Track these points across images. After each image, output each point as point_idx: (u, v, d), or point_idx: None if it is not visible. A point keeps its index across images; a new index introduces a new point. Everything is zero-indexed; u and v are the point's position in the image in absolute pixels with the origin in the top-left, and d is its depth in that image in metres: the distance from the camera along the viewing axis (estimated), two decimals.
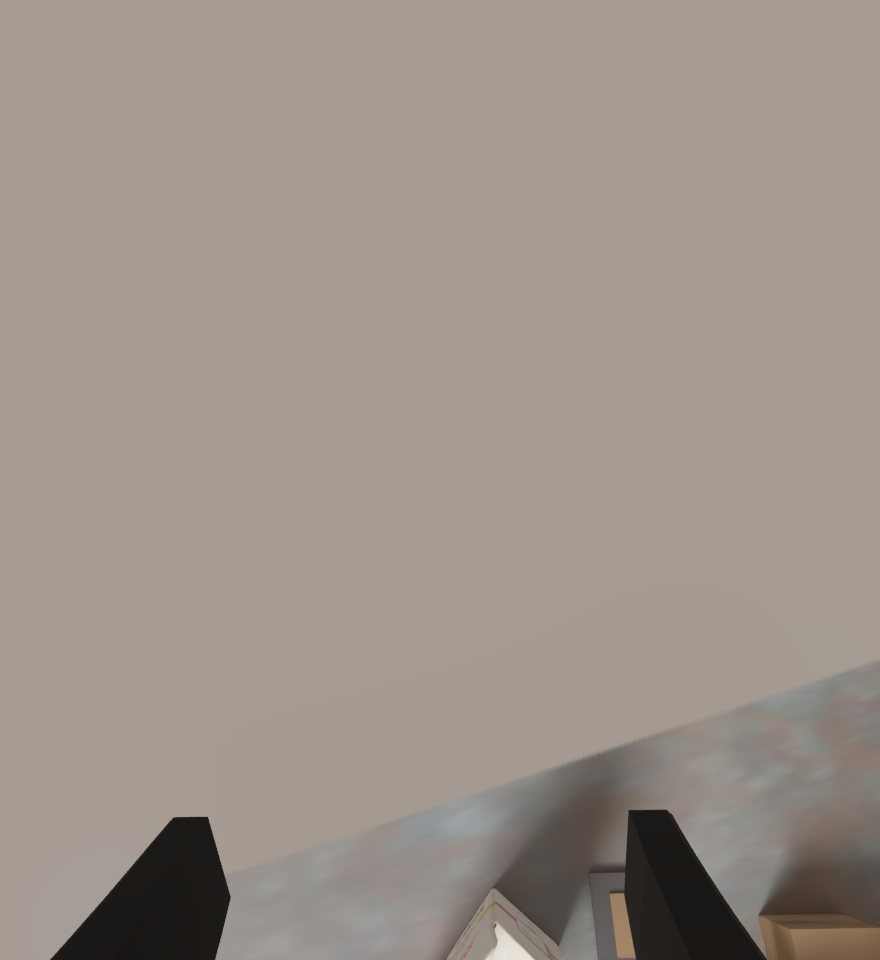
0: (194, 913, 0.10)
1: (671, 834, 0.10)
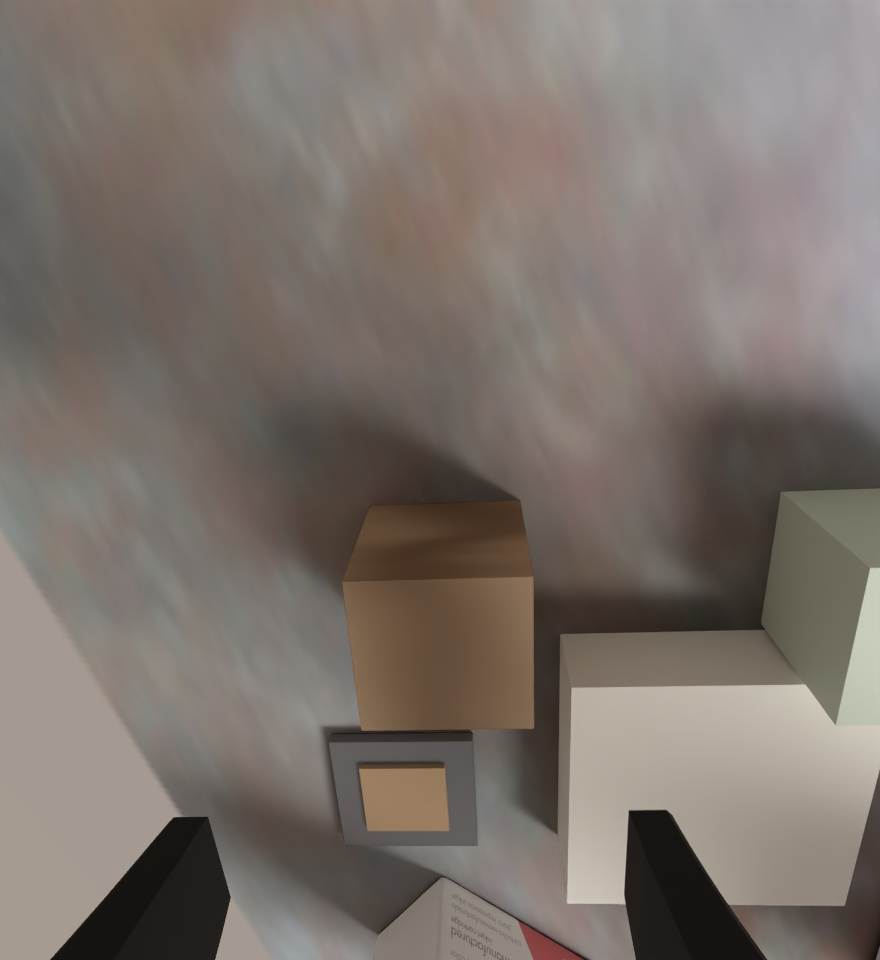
0: (194, 913, 0.10)
1: (671, 834, 0.10)
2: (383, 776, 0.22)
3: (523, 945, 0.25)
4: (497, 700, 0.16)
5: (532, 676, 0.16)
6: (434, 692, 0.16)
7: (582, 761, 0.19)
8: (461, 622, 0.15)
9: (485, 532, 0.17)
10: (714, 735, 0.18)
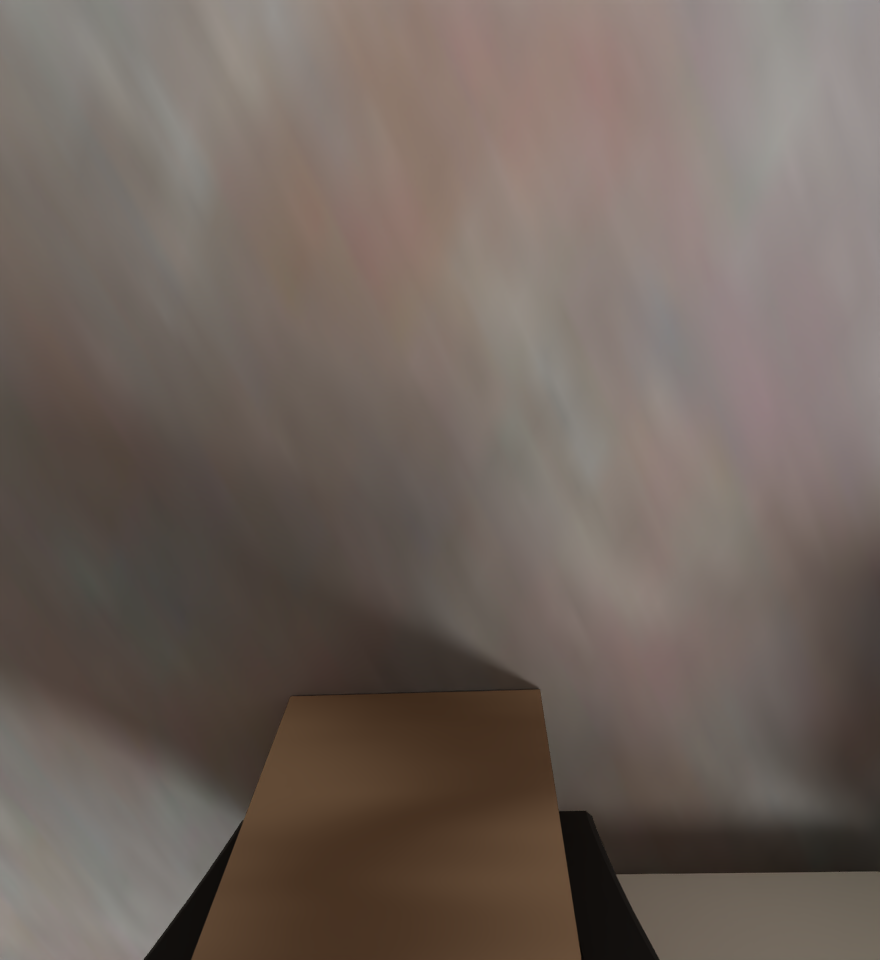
0: None
1: (585, 835, 0.10)
2: None
3: None
4: None
5: None
6: None
7: None
8: None
9: (482, 788, 0.09)
10: None
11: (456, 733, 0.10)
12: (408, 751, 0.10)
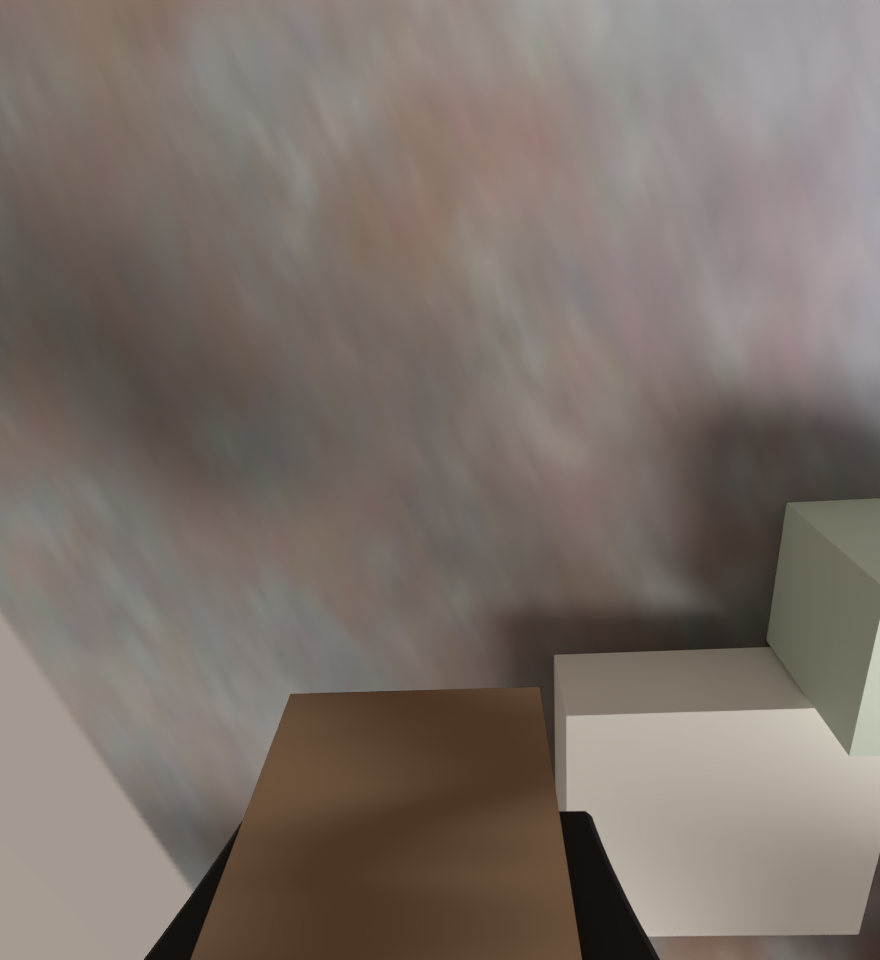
0: None
1: (586, 835, 0.10)
2: None
3: None
4: None
5: None
6: None
7: (579, 791, 0.18)
8: None
9: (482, 786, 0.09)
10: (718, 762, 0.17)
11: (456, 730, 0.10)
12: (408, 748, 0.10)
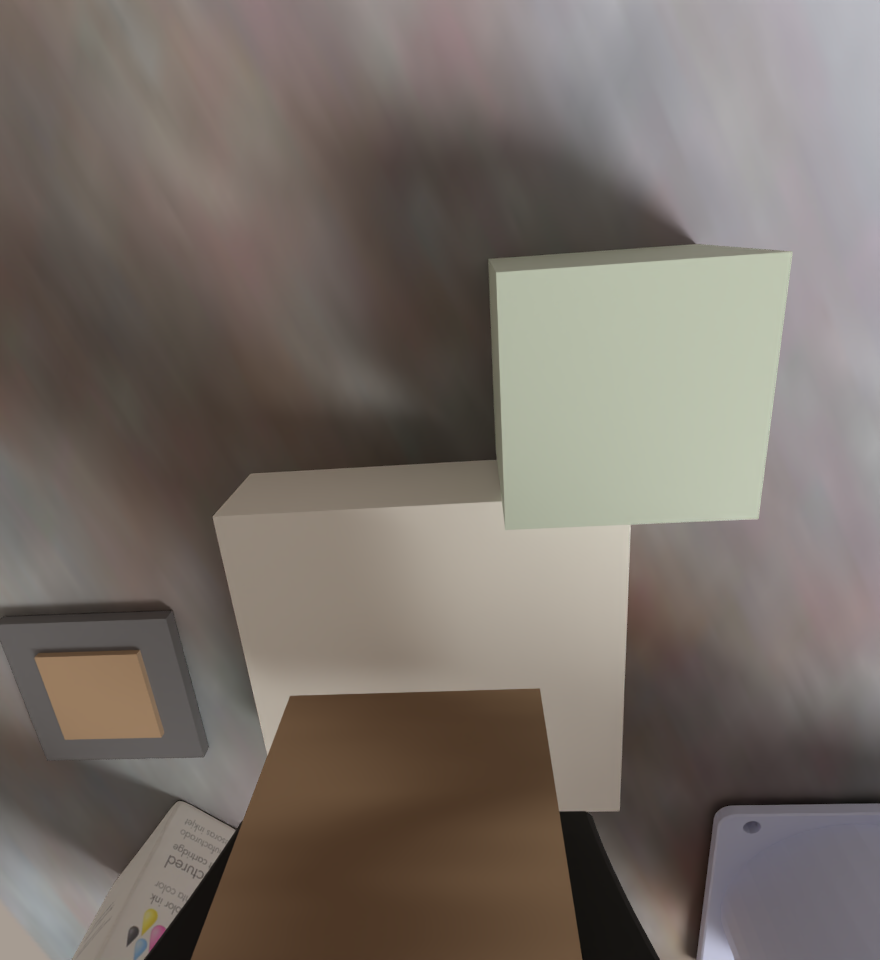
0: None
1: (585, 835, 0.10)
2: (66, 667, 0.18)
3: None
4: None
5: None
6: None
7: (252, 622, 0.15)
8: None
9: (482, 788, 0.09)
10: (408, 579, 0.14)
11: (456, 732, 0.10)
12: (408, 750, 0.10)
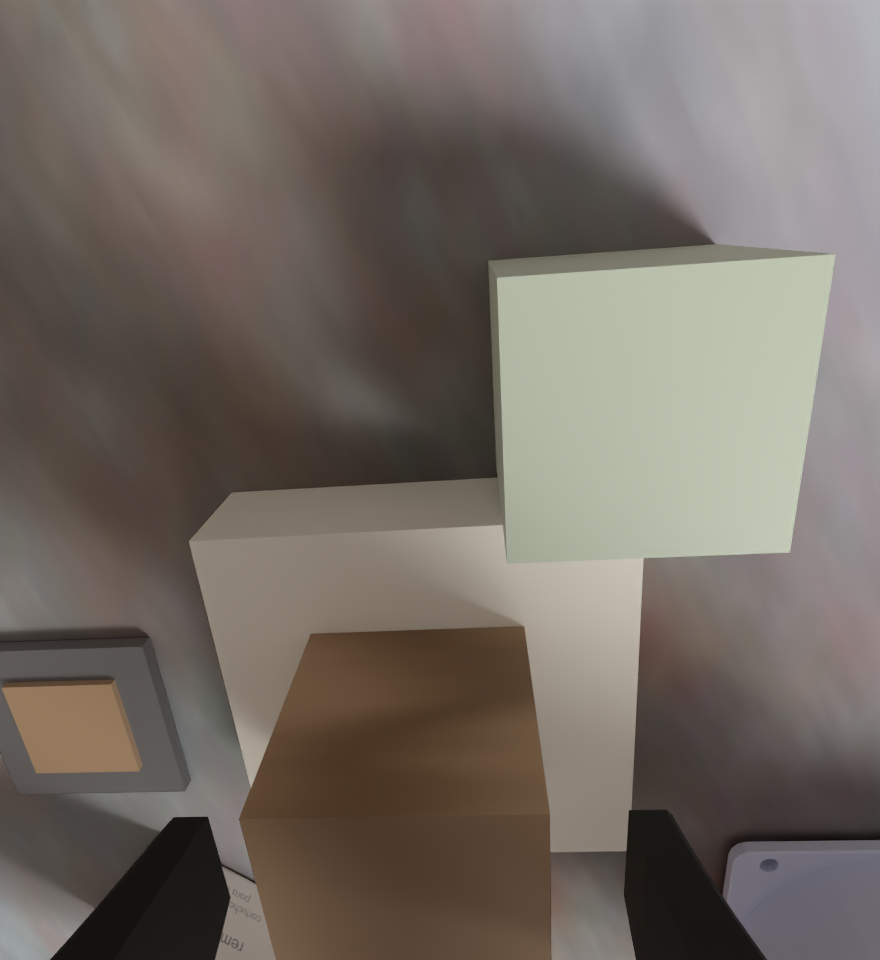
0: (194, 913, 0.10)
1: (671, 834, 0.10)
2: (36, 697, 0.17)
3: (263, 920, 0.19)
4: None
5: (549, 945, 0.10)
6: None
7: (233, 653, 0.14)
8: (435, 875, 0.09)
9: (473, 699, 0.11)
10: (402, 607, 0.13)
11: (452, 659, 0.12)
12: (412, 672, 0.12)
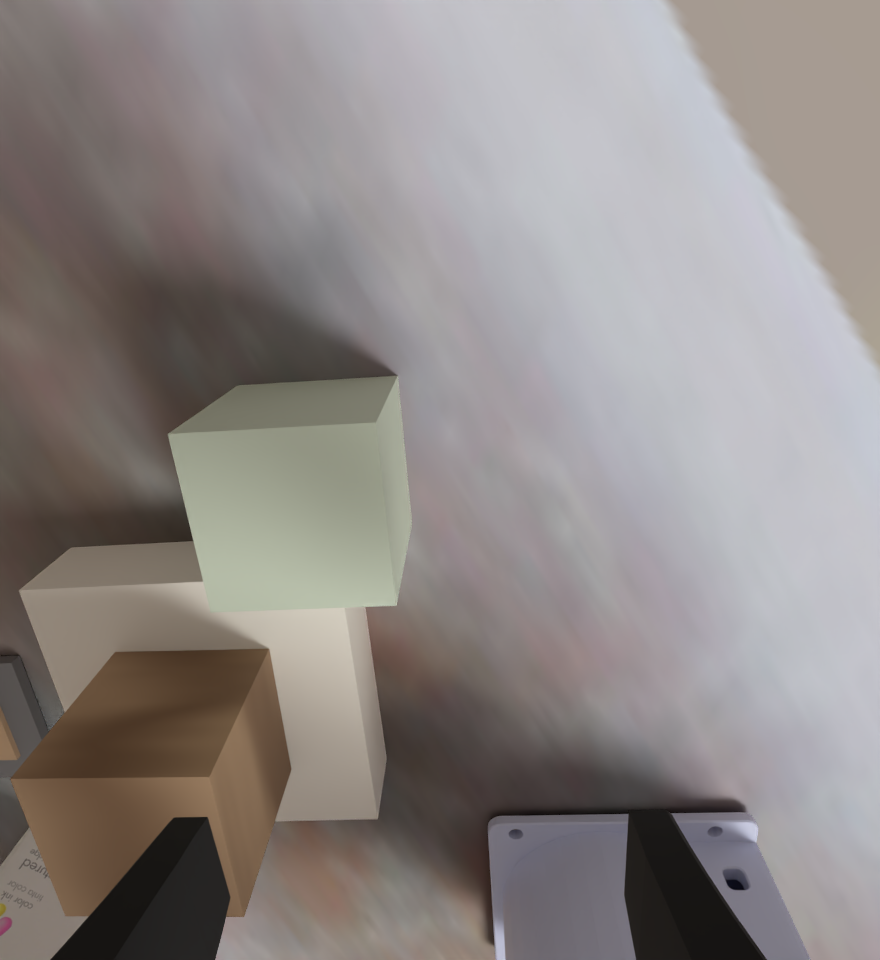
0: (194, 913, 0.10)
1: (671, 834, 0.10)
2: None
3: None
4: None
5: (230, 868, 0.15)
6: None
7: (61, 670, 0.18)
8: (144, 818, 0.14)
9: (203, 701, 0.16)
10: (179, 637, 0.18)
11: (205, 672, 0.17)
12: (171, 682, 0.17)
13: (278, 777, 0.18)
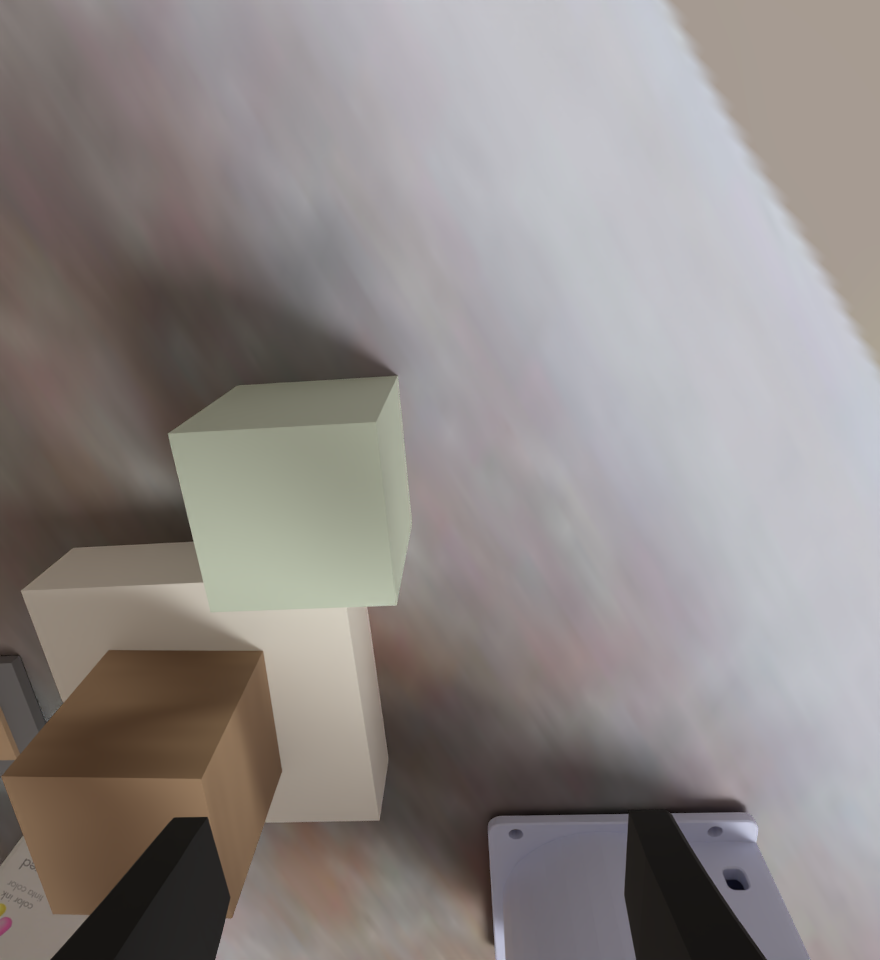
0: (194, 913, 0.10)
1: (671, 834, 0.10)
2: None
3: None
4: None
5: None
6: None
7: (63, 671, 0.18)
8: (135, 818, 0.14)
9: (197, 701, 0.16)
10: (180, 638, 0.18)
11: (198, 673, 0.17)
12: (165, 682, 0.17)
13: (268, 779, 0.18)
